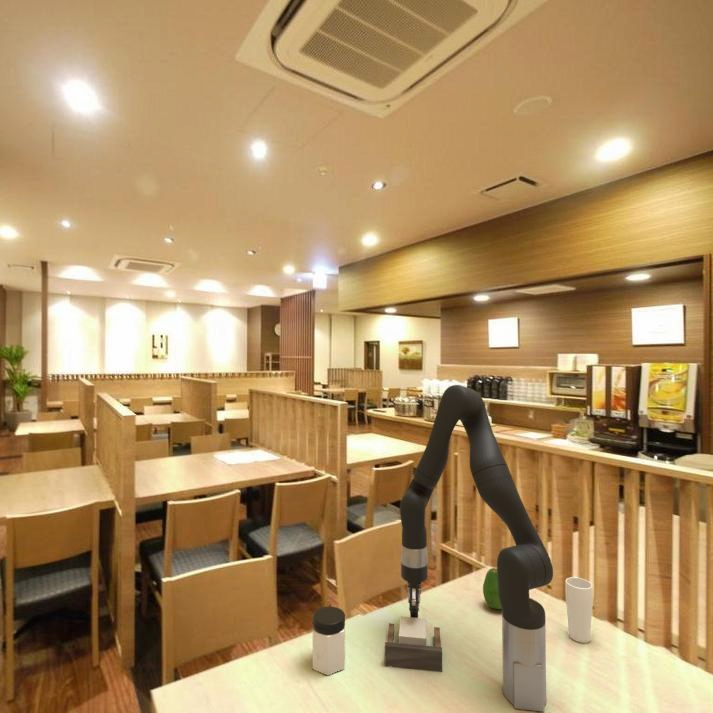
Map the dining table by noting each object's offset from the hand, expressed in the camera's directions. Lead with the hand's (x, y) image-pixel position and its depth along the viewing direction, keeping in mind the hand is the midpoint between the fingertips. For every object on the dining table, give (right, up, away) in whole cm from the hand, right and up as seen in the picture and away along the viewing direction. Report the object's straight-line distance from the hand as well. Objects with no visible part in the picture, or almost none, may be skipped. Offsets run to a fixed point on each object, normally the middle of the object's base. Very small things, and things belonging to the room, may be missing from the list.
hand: (414, 622), depth 123 cm
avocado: (+27, -3, +11) cm, 29 cm away
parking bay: (-1, -2, -9) cm, 9 cm away
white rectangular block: (-1, -2, -7) cm, 7 cm away
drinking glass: (+45, -2, -4) cm, 45 cm away
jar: (-23, -2, -14) cm, 27 cm away
